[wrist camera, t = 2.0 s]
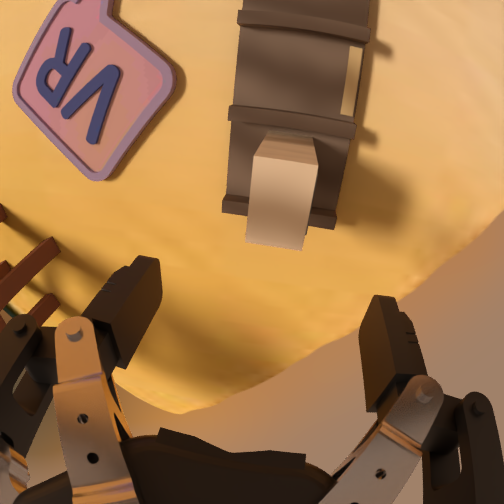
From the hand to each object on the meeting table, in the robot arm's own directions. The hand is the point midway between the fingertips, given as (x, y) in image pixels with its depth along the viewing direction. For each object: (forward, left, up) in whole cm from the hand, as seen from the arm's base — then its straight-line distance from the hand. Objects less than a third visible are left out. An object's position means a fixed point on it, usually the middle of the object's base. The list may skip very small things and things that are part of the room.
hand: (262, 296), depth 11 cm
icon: (-9, -20, -19) cm, 29 cm away
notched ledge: (-8, 0, -18) cm, 20 cm away
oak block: (0, 0, -17) cm, 17 cm away
